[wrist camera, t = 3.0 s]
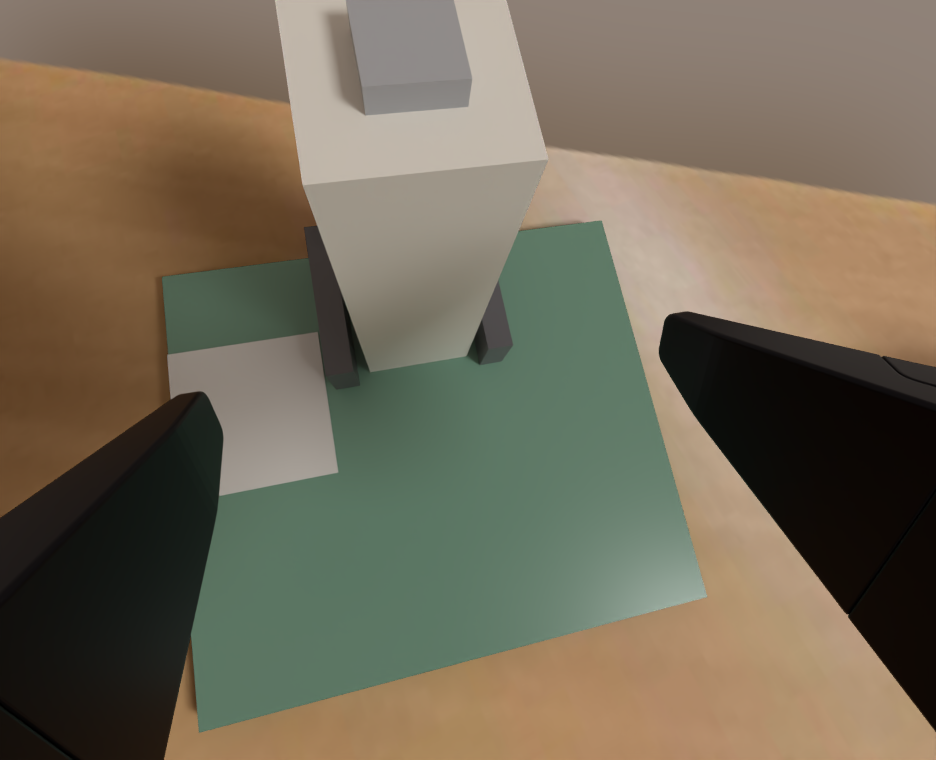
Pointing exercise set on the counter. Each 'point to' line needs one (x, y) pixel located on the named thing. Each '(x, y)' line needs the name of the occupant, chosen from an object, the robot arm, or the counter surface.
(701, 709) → the counter surface
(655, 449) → the board
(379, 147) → the white tall block
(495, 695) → the counter surface
